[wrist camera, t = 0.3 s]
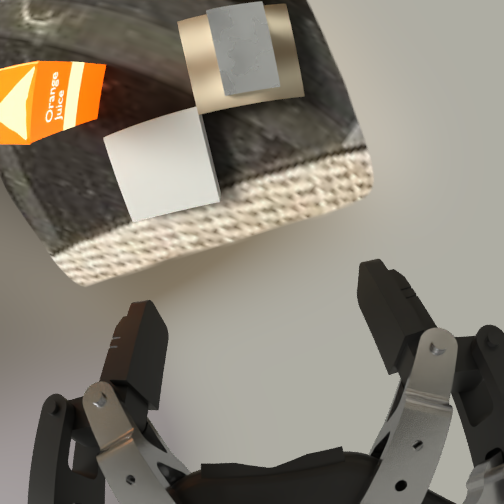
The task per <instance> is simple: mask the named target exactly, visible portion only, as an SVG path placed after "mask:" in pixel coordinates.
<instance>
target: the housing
mask: <svg viewBox="0 0 504 504" xmlns="http://www.w3.org/2000/svg"><path fill="white" fill-rule="evenodd" d="M206 12H207V17H208V21H209V26H210V30H211V35H212V39H213V44H214V48H215V53H216V57H217V62H218V66H219V71H220V75H221V80H222V85H223V89H224V94H225V96H228V95H233V94H238V93H243V92H249V91H255V90H261V89H268V88H275V87H281V86H280V81H279V76H278V71H277V65H276V60H275V56H274V51H273V46H272V41H271V37H270V32H269V28H268V23H267V19H266V15H265V10H264V6H263V2H262V1H260V2H251V3H244V4H237V5H231V6H225V7H220V8H214V9H210V10H206Z"/></svg>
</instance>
